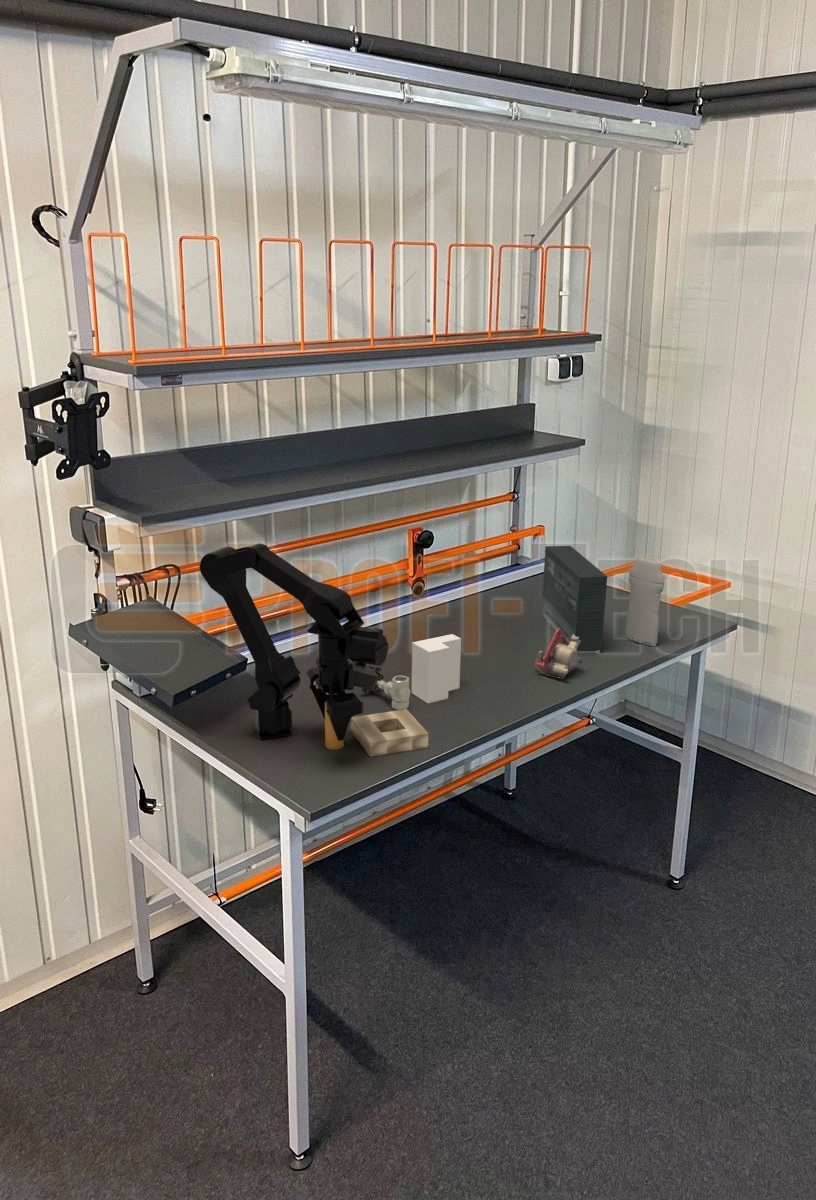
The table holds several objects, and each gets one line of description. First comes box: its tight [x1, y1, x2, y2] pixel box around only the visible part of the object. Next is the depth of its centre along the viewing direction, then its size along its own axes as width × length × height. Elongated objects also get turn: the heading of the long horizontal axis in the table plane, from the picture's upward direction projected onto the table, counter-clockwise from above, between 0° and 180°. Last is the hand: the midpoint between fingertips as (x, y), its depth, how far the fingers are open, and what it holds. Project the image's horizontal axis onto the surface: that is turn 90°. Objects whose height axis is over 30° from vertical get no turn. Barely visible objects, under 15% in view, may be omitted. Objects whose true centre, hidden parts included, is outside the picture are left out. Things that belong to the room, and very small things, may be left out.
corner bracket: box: [410, 633, 462, 704], centre depth 214 cm, size 11×11×12 cm
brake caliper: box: [534, 628, 584, 679], centre depth 224 cm, size 11×11×12 cm
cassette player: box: [541, 545, 608, 651], centre depth 248 cm, size 29×7×20 cm, turn 9°
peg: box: [324, 702, 345, 750], centre depth 187 cm, size 4×4×9 cm
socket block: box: [350, 708, 429, 758], centre depth 191 cm, size 12×12×3 cm
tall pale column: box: [624, 557, 665, 644], centre depth 243 cm, size 11×4×22 cm, turn 39°
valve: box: [361, 664, 411, 711], centre depth 208 cm, size 7×7×12 cm
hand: (334, 730), depth 188 cm, fingers open, 8 cm apart
